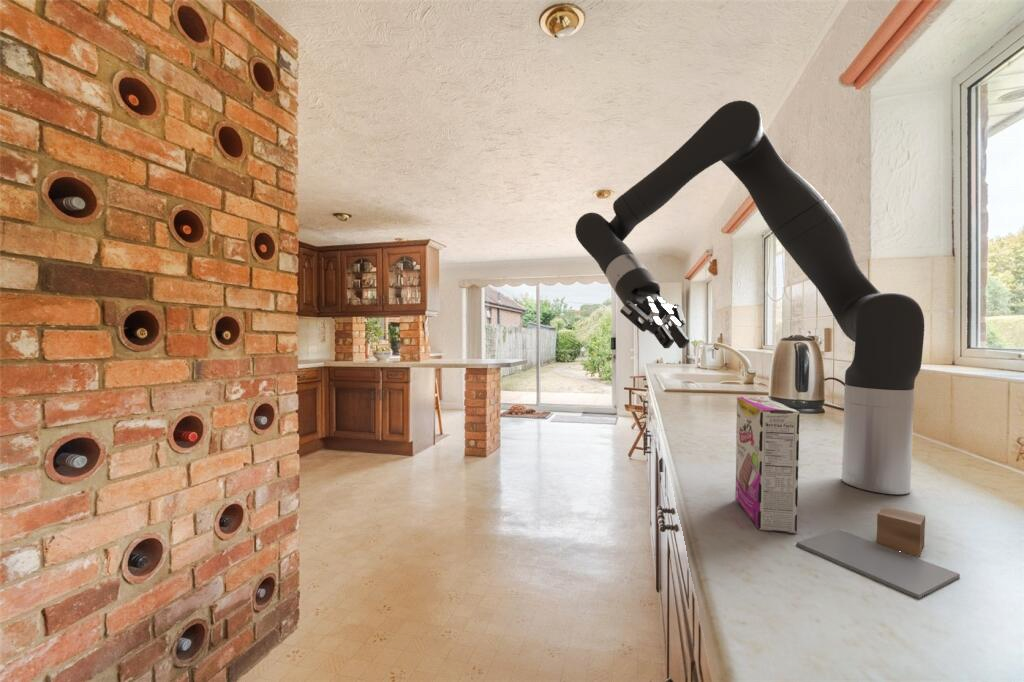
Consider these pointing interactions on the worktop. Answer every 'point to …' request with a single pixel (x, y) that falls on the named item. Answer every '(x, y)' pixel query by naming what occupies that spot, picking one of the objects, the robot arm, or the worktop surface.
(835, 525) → the worktop surface
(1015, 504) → the worktop surface
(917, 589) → the plate
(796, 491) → the candy bar box
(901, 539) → the walnut block
